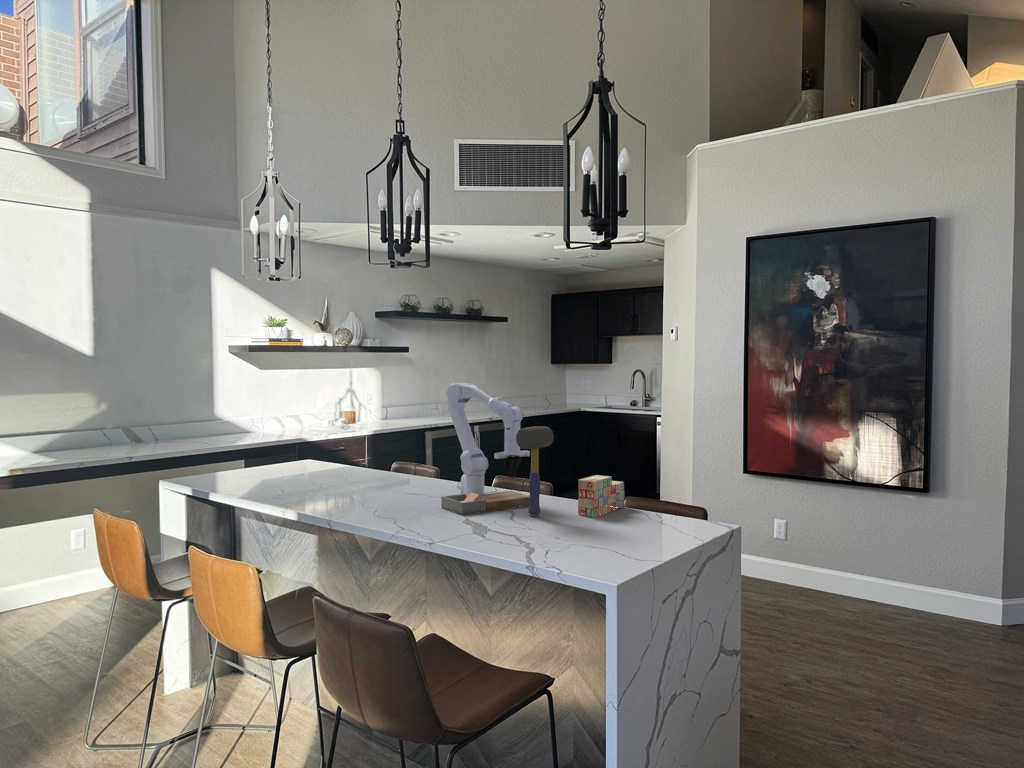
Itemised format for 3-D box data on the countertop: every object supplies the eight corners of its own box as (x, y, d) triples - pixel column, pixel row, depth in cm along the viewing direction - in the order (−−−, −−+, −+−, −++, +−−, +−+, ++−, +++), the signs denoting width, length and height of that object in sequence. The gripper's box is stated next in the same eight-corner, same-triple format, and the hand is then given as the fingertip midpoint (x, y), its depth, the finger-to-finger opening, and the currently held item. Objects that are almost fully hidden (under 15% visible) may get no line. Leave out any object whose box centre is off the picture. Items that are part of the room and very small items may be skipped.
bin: (441, 507, 249) (441, 496, 249) (465, 504, 254) (465, 493, 254) (462, 514, 237) (462, 502, 237) (486, 511, 243) (486, 499, 243)
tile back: (465, 506, 249) (461, 502, 248) (474, 496, 251) (471, 492, 250) (472, 508, 245) (469, 504, 244) (482, 498, 247) (479, 494, 246)
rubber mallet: (530, 520, 229) (531, 428, 228) (513, 517, 234) (514, 426, 233) (554, 515, 238) (555, 425, 237) (538, 511, 243) (538, 424, 242)
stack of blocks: (608, 505, 256) (609, 471, 255) (624, 507, 252) (624, 473, 251) (577, 515, 238) (578, 478, 238) (593, 517, 235) (594, 480, 234)
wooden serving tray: (465, 504, 254) (465, 496, 254) (511, 499, 266) (511, 491, 266) (487, 511, 243) (487, 502, 243) (533, 505, 254) (533, 496, 254)
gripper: (502, 442, 251) (501, 480, 251) (534, 439, 259) (534, 476, 259) (491, 440, 256) (490, 477, 257) (523, 438, 265) (523, 474, 265)
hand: (512, 477), depth 258 cm, fingers closed
